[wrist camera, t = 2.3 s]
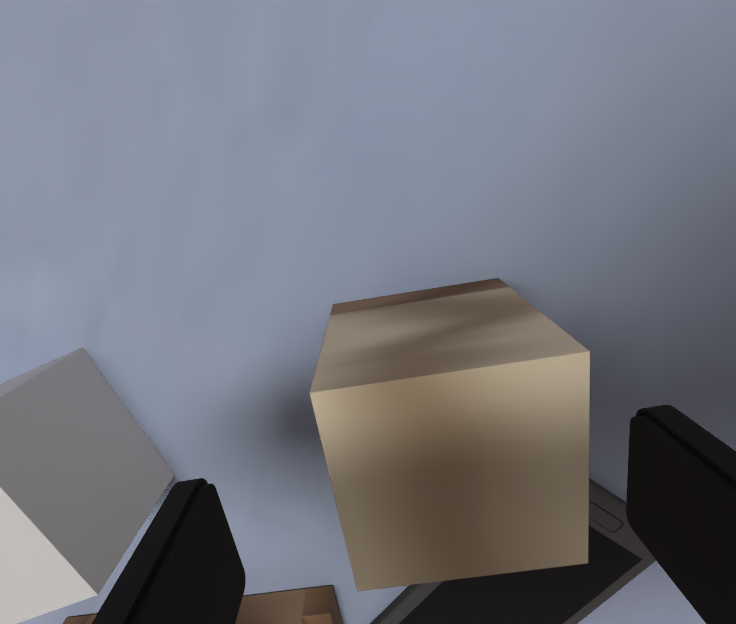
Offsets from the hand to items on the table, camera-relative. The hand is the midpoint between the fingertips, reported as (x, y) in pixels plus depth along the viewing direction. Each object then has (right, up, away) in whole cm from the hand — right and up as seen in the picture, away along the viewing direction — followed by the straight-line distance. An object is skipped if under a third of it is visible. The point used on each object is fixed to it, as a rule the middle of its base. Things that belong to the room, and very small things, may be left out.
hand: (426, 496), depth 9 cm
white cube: (-13, -1, +7) cm, 15 cm away
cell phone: (+5, -8, +10) cm, 14 cm away
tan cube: (+1, +2, +6) cm, 6 cm away
